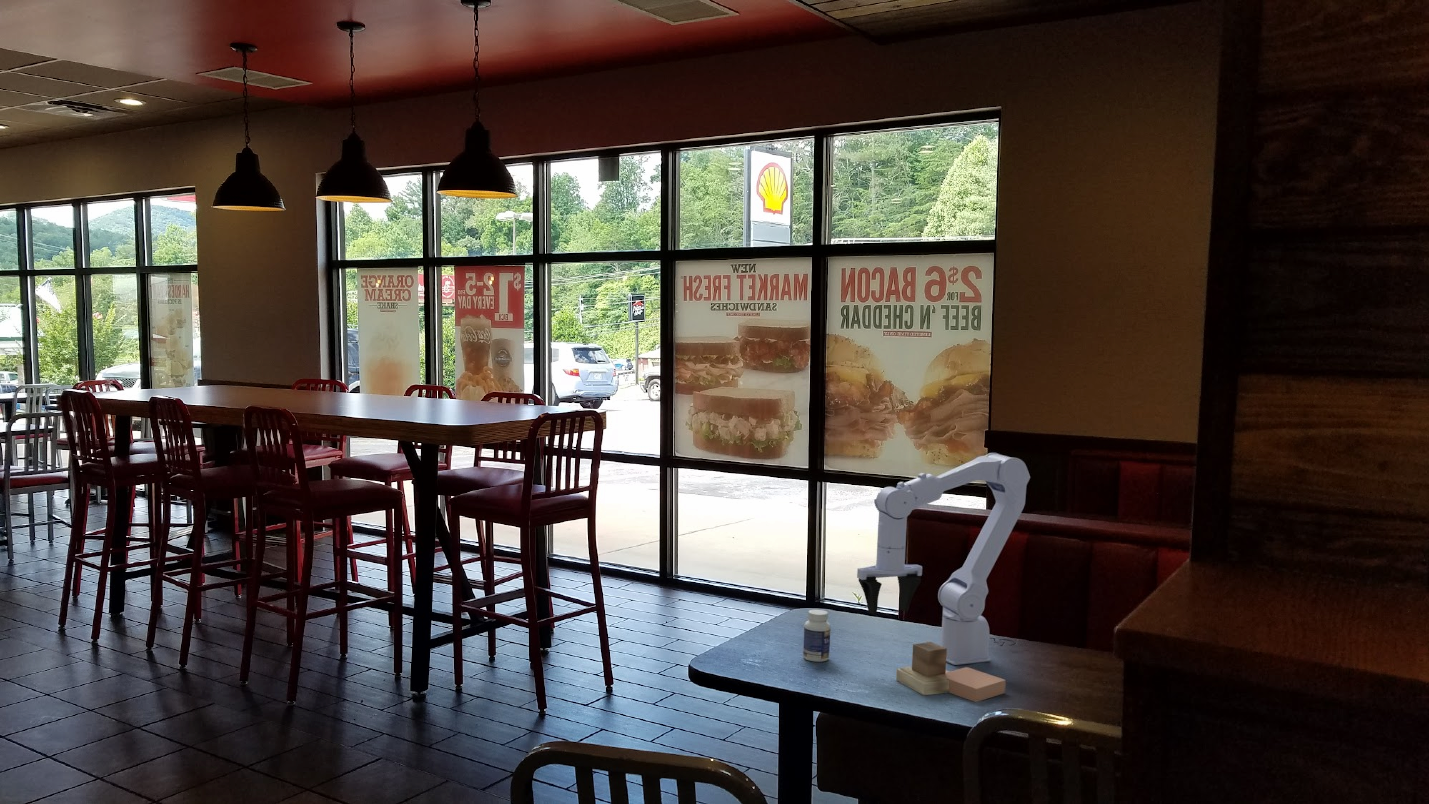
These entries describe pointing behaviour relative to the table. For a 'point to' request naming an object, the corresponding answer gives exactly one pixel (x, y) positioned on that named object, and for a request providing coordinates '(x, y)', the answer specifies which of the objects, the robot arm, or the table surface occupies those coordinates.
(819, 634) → the pill bottle
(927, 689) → the birch plinth
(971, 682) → the salmon pink slab
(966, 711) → the table surface
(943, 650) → the walnut block
